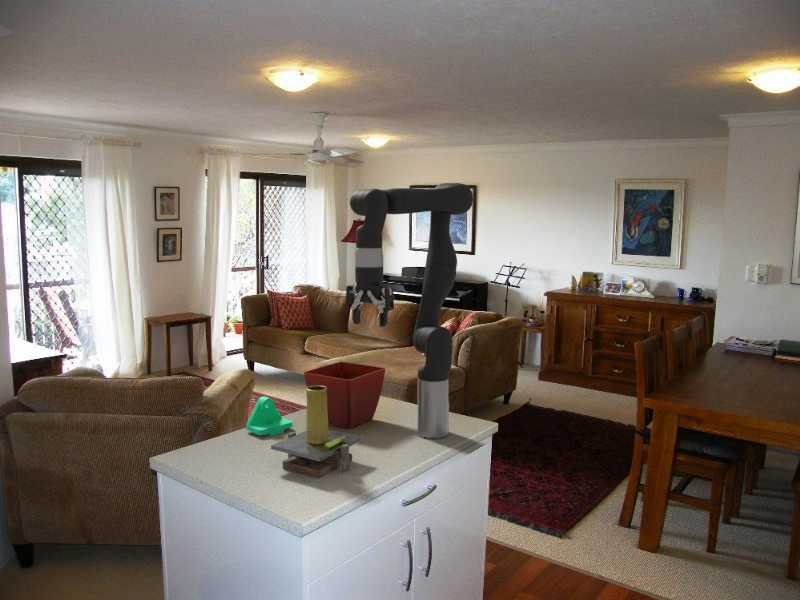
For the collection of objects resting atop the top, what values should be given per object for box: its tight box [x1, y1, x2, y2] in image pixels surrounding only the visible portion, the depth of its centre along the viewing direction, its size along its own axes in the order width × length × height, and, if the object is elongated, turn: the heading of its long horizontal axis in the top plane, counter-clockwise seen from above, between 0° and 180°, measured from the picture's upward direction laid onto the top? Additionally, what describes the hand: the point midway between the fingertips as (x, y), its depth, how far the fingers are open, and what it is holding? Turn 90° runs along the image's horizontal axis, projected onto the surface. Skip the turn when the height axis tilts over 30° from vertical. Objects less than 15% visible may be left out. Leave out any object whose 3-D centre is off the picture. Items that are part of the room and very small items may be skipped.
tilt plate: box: [270, 428, 363, 461], centre depth 173 cm, size 18×16×3 cm
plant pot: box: [303, 361, 386, 429], centre depth 211 cm, size 19×19×17 cm
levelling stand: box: [282, 431, 353, 479], centre depth 174 cm, size 14×19×7 cm
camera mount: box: [245, 395, 293, 437], centre depth 201 cm, size 12×8×10 cm, turn 134°
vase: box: [306, 386, 329, 445], centre depth 173 cm, size 6×6×14 cm
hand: (369, 325), depth 178 cm, fingers open, 8 cm apart
